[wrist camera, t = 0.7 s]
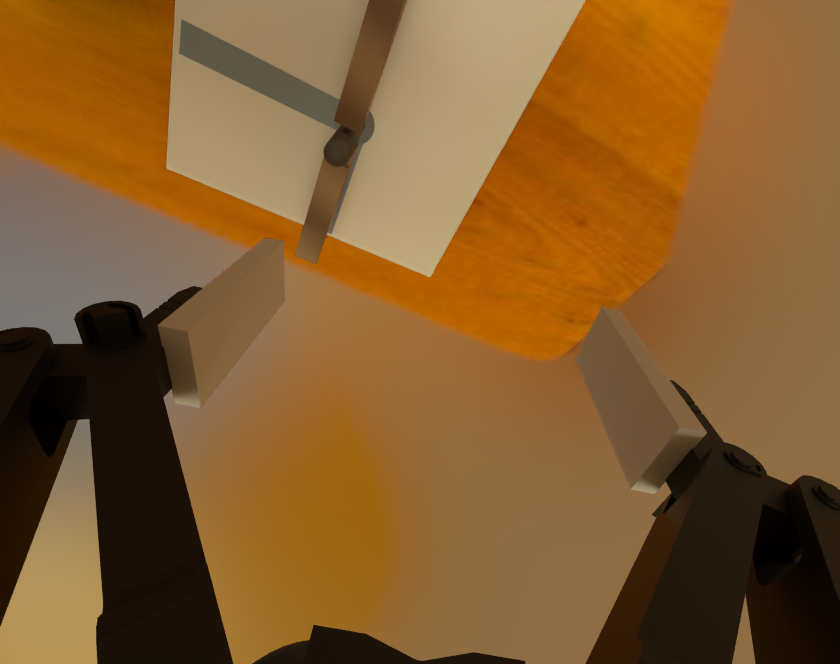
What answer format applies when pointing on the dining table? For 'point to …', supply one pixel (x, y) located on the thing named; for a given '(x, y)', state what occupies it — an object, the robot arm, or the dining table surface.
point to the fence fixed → (327, 191)
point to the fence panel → (368, 61)
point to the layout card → (386, 121)
